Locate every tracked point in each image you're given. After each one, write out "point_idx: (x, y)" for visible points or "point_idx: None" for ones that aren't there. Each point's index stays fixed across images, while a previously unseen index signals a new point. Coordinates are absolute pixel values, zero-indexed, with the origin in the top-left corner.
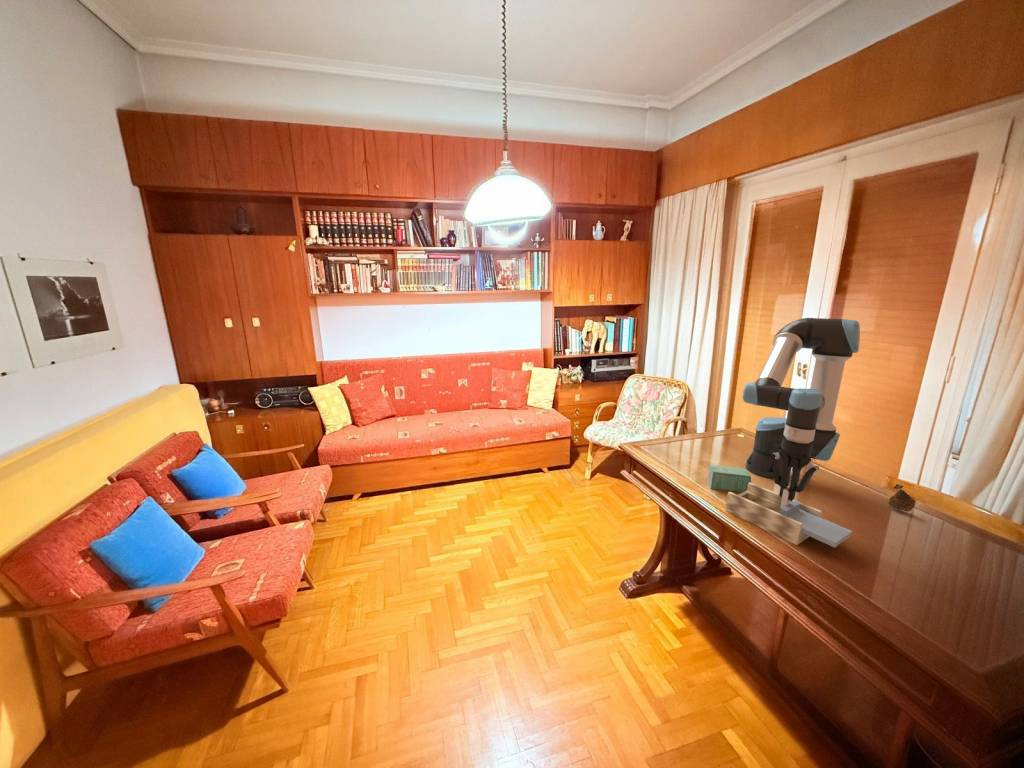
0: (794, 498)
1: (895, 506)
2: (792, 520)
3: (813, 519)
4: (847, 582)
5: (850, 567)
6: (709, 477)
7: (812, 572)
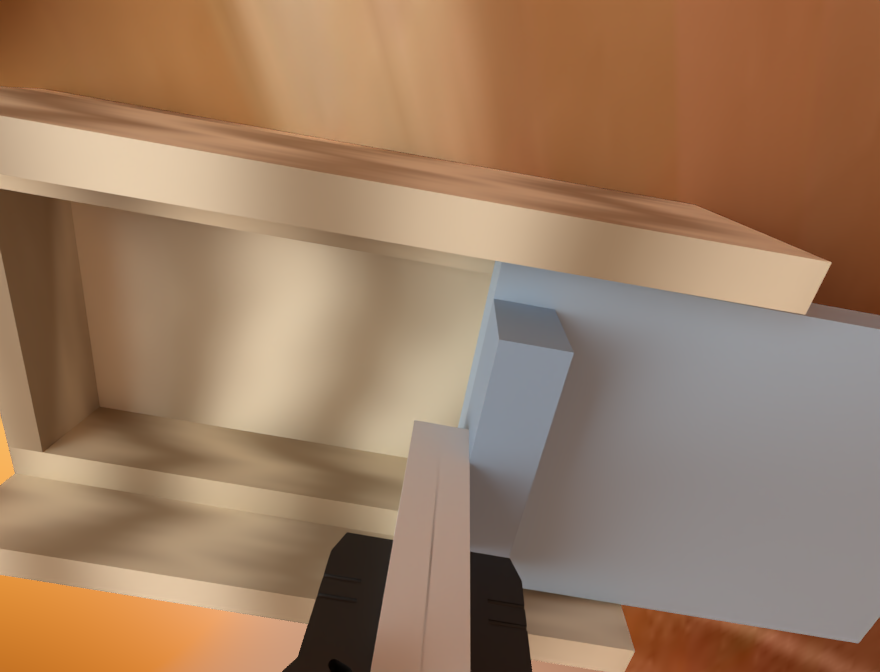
0: (521, 587)
1: None
2: (554, 656)
3: (706, 407)
4: (823, 645)
5: None
6: None
7: (672, 669)
